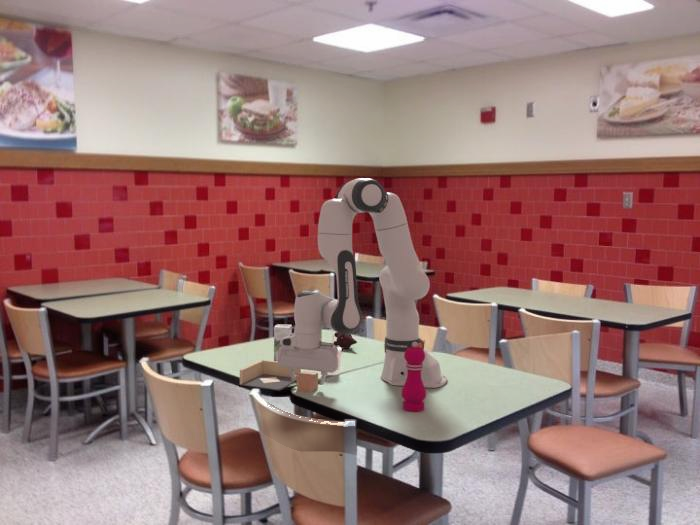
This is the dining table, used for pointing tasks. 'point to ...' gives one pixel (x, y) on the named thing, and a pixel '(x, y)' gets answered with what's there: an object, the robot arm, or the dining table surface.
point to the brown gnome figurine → (344, 340)
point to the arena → (266, 375)
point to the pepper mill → (414, 380)
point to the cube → (307, 381)
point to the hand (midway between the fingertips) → (307, 382)
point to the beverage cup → (338, 359)
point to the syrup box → (280, 336)
